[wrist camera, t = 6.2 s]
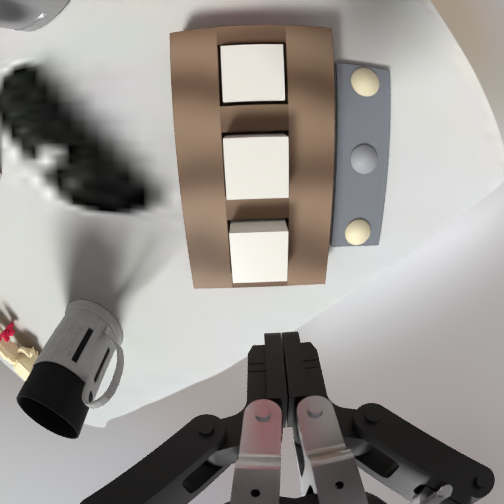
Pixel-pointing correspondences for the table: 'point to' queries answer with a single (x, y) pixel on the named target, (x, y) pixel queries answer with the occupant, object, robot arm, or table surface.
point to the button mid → (256, 166)
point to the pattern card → (360, 154)
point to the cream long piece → (17, 353)
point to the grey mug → (73, 369)
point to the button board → (254, 122)
